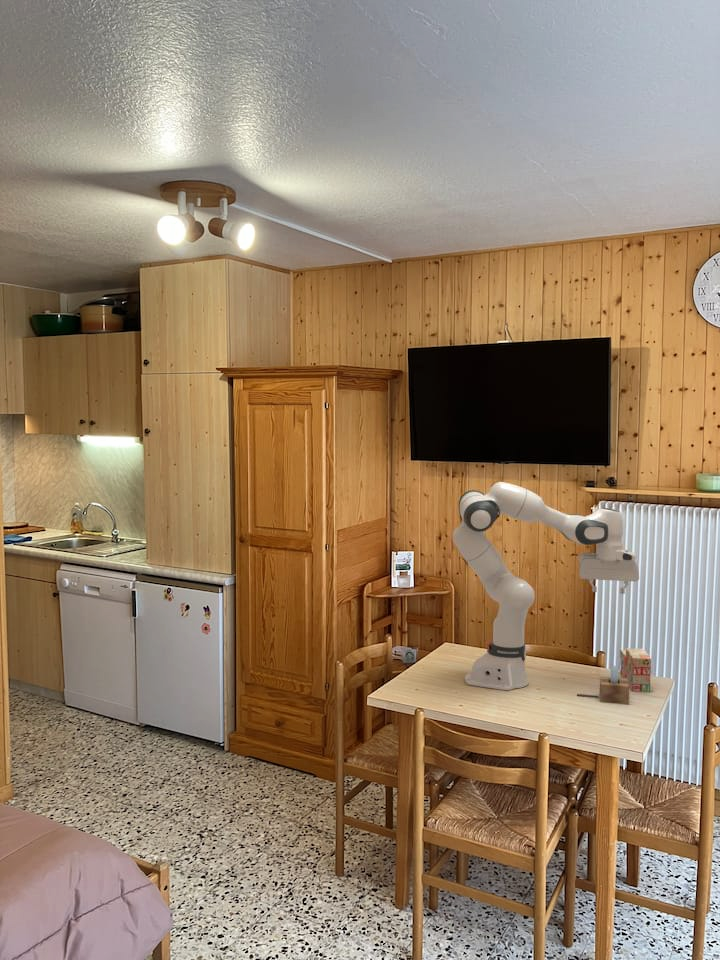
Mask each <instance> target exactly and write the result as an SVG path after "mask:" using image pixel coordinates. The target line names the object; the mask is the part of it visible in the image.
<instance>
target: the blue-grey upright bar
mask: <svg viewBox="0 0 720 960" xmlns="http://www.w3.org/2000/svg"><path fill="white" fill-rule="evenodd" d="M610 677H611V679H610V683H618V678H619V666H618V665H610Z"/></svg>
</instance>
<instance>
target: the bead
mask: <svg viewBox="0 0 720 960" xmlns="http://www.w3.org/2000/svg"><path fill="white" fill-rule="evenodd" d="M610 679H611V676H601V675H600V676H599V700H600V701H599V702H600V703H609V704H618V703H619V704H620V705H621V704H622V705H629V704H630V688H629V684H628V680H627V678H623V677H618V683H610Z"/></svg>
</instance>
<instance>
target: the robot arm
mask: <svg viewBox="0 0 720 960" xmlns="http://www.w3.org/2000/svg"><path fill="white" fill-rule="evenodd" d="M458 501H459V502H458V512H459V520H461V523H460V524H459V525H458V526H456V528H455V529H454V531H453V533H452V540H453V543H454V545H455V546H456V548H457V551H459V553H460V555H461V556H462V558H463V559H464V560H465V562H467V564H468V565H469V567H470V568H471V569H472V570H473V572H474V573H475V574H476V575H477V577H478V578H479V580H480V582H481V584H482V586H483V587H484V590H485V592H486V594H488V596H489V597H490V598H491V599H492V600H493V601H494V602H497V603H498V605H499V606H498V612H497V615H496V617H495V619H494V620H493V623H492V634H493V635H492V640H488V641H487V642H486V649H487V651H486V652H485V653H484V654H483V655H481V656H480V657H479V658H477V659H476V660H475V661H474V662H473V664H472V666H471V670H470V671H469V672H468V673H467V674H466V675H465V677H464V682H465V684H467V685H469V686H475V687H481V688H482V687H483V688H486V689H487V688H488V689H494V690H501V691H511V690H513V689H514V690H515V689H520V688H524V687H526V686H528V684H529V681H528V676H527V673H526V671H527V670H526V664H525V660H526V657H527V656H526V653H527V652H526V651H527V650H526V643H525V626H526V619H527V614H528V611H529V609H530V607H531V606H532V605H533V604H534V602H535V599H536V595H535V594H536V593H535V590H534V588H533V587H532V585H531V584H529V582H527V581H526V580H524V579H522V578H519V577H517V576H516V575H514V574H512V572H510V571H509V569H508V568H507V566H506V563H505V561H504V557H503V555H502V554H501V553H500V551H498V549H497V547H495V546H494V544H493V543H492V541H491V540H490V539H489V538H488V536H487V535H486V533H485V532H486V531H487V530H489V529H490V528H491V527H492V526H493V525H494V523H495V522H496V521H497V519H499V518H500V516H501V514H503V515H505V516H508V517H510V518H512V519H515V520H517V521H520V522H525V523H531V524H533V523H536V522H537V523H541V524H543V525H546V526H548V527H550V528H553V529H555V530H557V531H559V532H560V533H561V534H562V535H563V537H564V538H565V539H567V540H568V541H570V542H575V543H578V544H580V545H583V546H591V545H596V547H595V548H596V549H595V552H583V553H581V554H579V556H578V564H579V573H578V577H579V578H580V579H582V580H588V581H589V582H588V583H589V584H590V586H591V588H592V589H591V590H592V591H591V592H592V593H597V591H598V590H597V589H598V587H597V586H595V585H594V580H598V581H600V580H601V581H619V582H620V581H621V582H623V586H622V587H619V593H620V594H626V589H627V587H628V586H629V582H638V581H639V580H640V572H639V571H640V570H639V565H638V562H637V561H636V559H637V558H636V557H637V556H636V554H635V553H634V552H632V551H629V550H626V549H623V542H622V538H623V534H624V523H623V516H622V512H620V510H618V509H613V508H609V507H600V508H598V510H596V511H594V512H593V513H591V514H588V515H586V516H584V515H581V514H578V513H573V514H572V513H569V514H567V513H564V512H561V511H559V510H556V509H554V508H552V507H550V506H548V505H546V503H545V502H544V499H543V497H541V496H539V495H538V494H537V493H535V492H534V491H531V490H530V489H527V488H525V487H522V486H519V485H516V484H513V483H509V482H505V481H504V482H503V481H498V482H496V483H493V485H492V486H491V488H489V491H488V492H487V493H486V494H484V493H483V492H482V491H479V490H477V489H476V490H475V489H471V490H468V491H465V492H464V493H463V494H462V495H461V496H460V498H459V500H458Z"/></svg>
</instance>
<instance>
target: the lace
mask: <svg viewBox="0 0 720 960" xmlns="http://www.w3.org/2000/svg"><path fill="white" fill-rule="evenodd" d="M576 697H583V698H584V697H585V698H597V699H599V695H595V694H581V693H576Z"/></svg>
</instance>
